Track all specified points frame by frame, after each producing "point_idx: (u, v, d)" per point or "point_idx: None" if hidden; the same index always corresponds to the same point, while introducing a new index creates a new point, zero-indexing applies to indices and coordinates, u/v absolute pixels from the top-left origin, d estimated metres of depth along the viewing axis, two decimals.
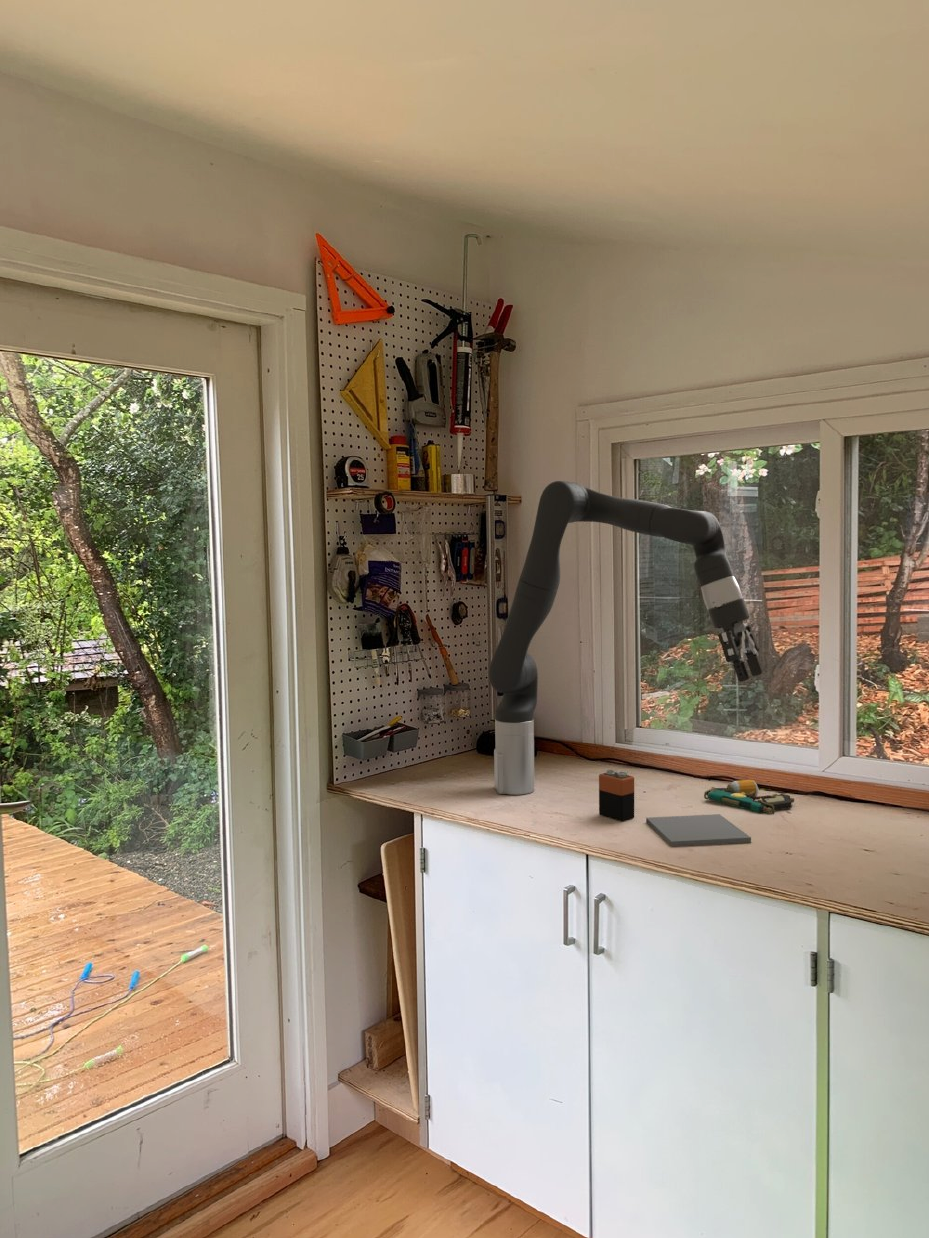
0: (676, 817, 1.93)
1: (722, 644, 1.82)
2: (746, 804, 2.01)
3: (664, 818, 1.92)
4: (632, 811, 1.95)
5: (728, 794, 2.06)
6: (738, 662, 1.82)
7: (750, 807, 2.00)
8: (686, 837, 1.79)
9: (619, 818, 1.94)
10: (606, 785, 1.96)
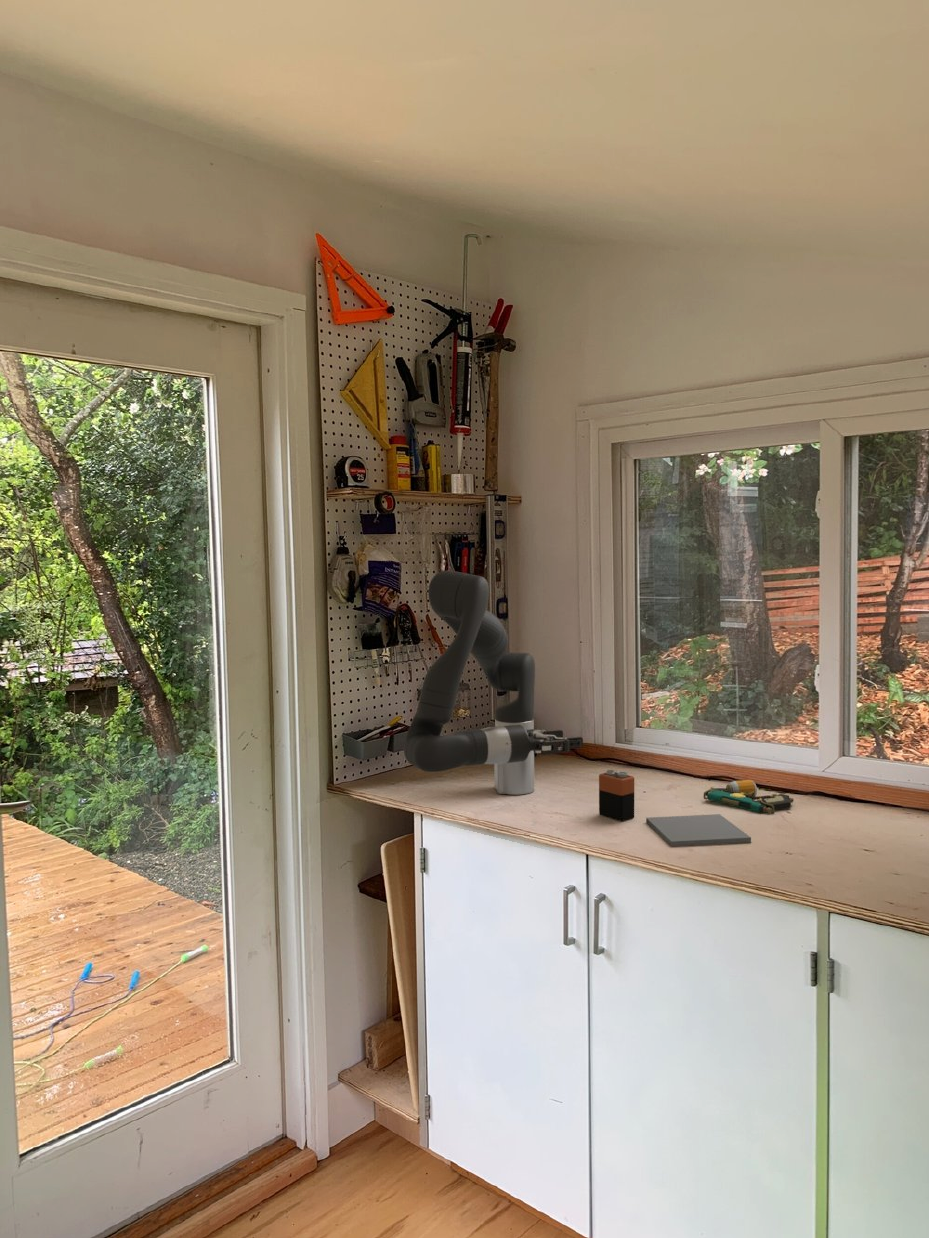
0: (676, 817, 1.93)
1: None
2: (746, 804, 2.01)
3: (664, 818, 1.92)
4: (632, 811, 1.95)
5: (727, 794, 2.05)
6: None
7: (750, 807, 1.99)
8: (686, 837, 1.79)
9: (619, 818, 1.94)
10: (606, 785, 1.96)
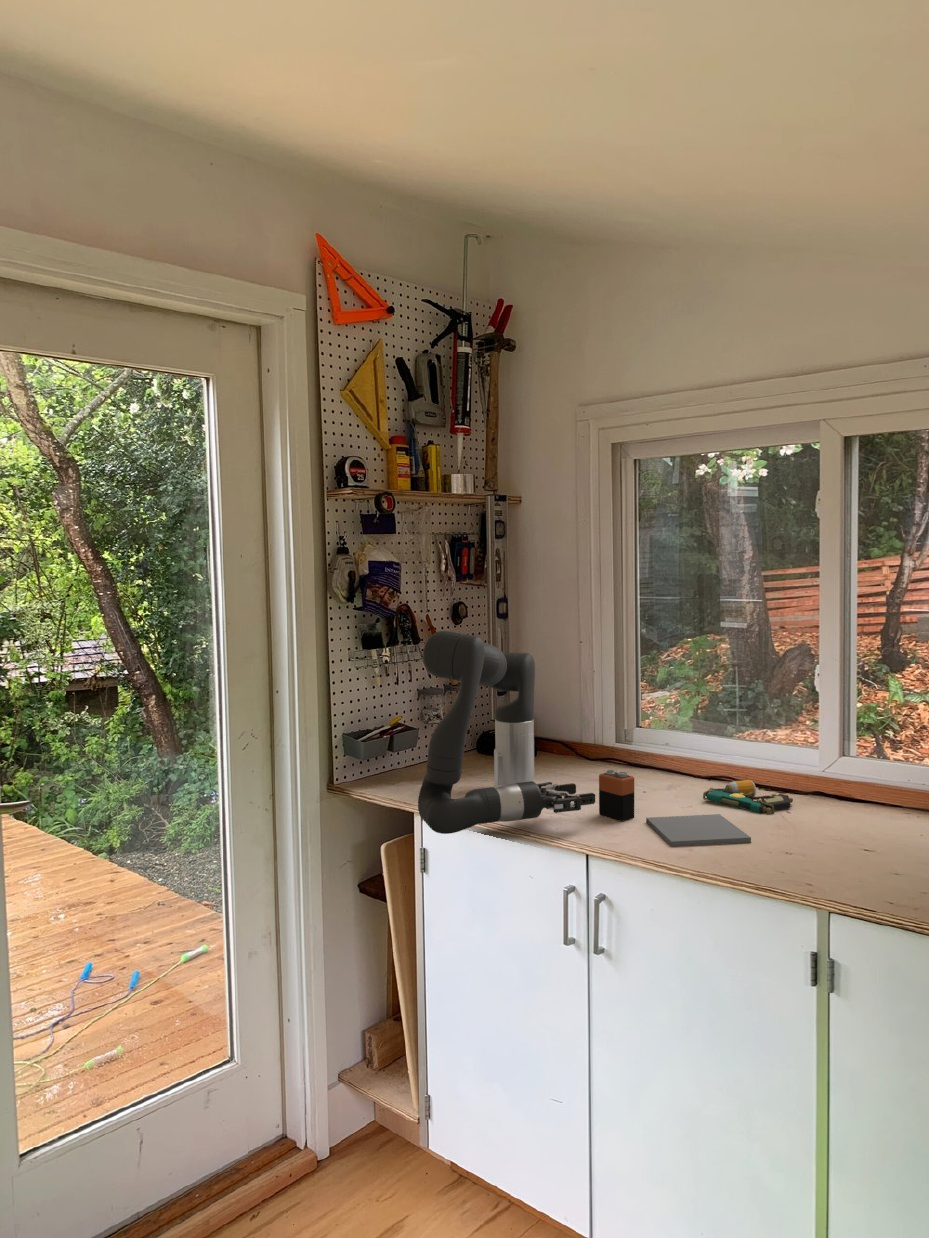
0: (676, 817, 1.93)
1: None
2: (746, 804, 2.01)
3: (664, 818, 1.92)
4: (632, 811, 1.95)
5: (727, 794, 2.05)
6: None
7: (750, 807, 1.99)
8: (686, 837, 1.79)
9: (619, 818, 1.94)
10: (606, 785, 1.96)
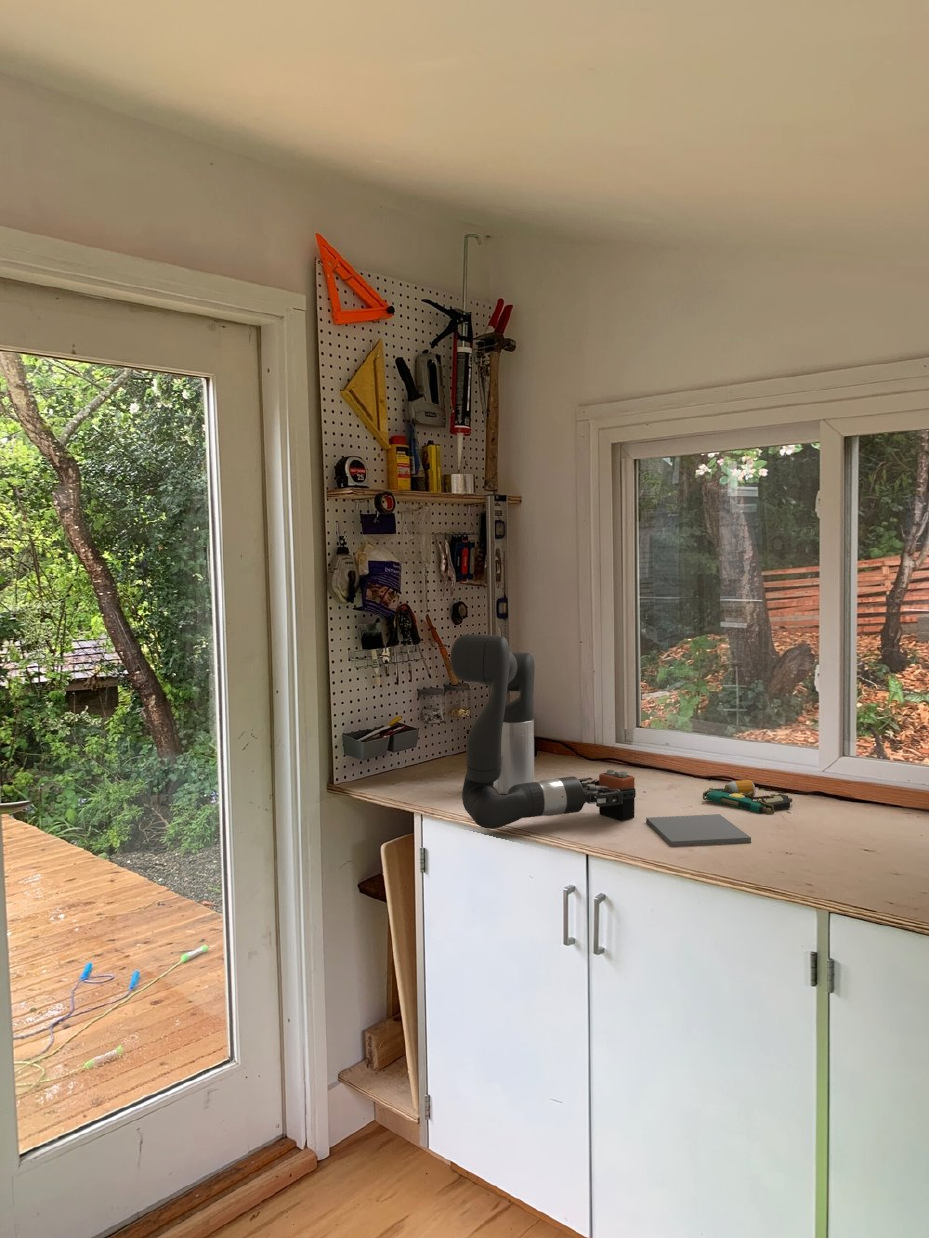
0: (676, 817, 1.93)
1: None
2: (745, 804, 2.01)
3: (664, 818, 1.92)
4: (632, 811, 1.95)
5: (727, 795, 2.05)
6: None
7: (750, 807, 1.99)
8: (686, 837, 1.79)
9: (619, 818, 1.94)
10: (606, 784, 1.96)
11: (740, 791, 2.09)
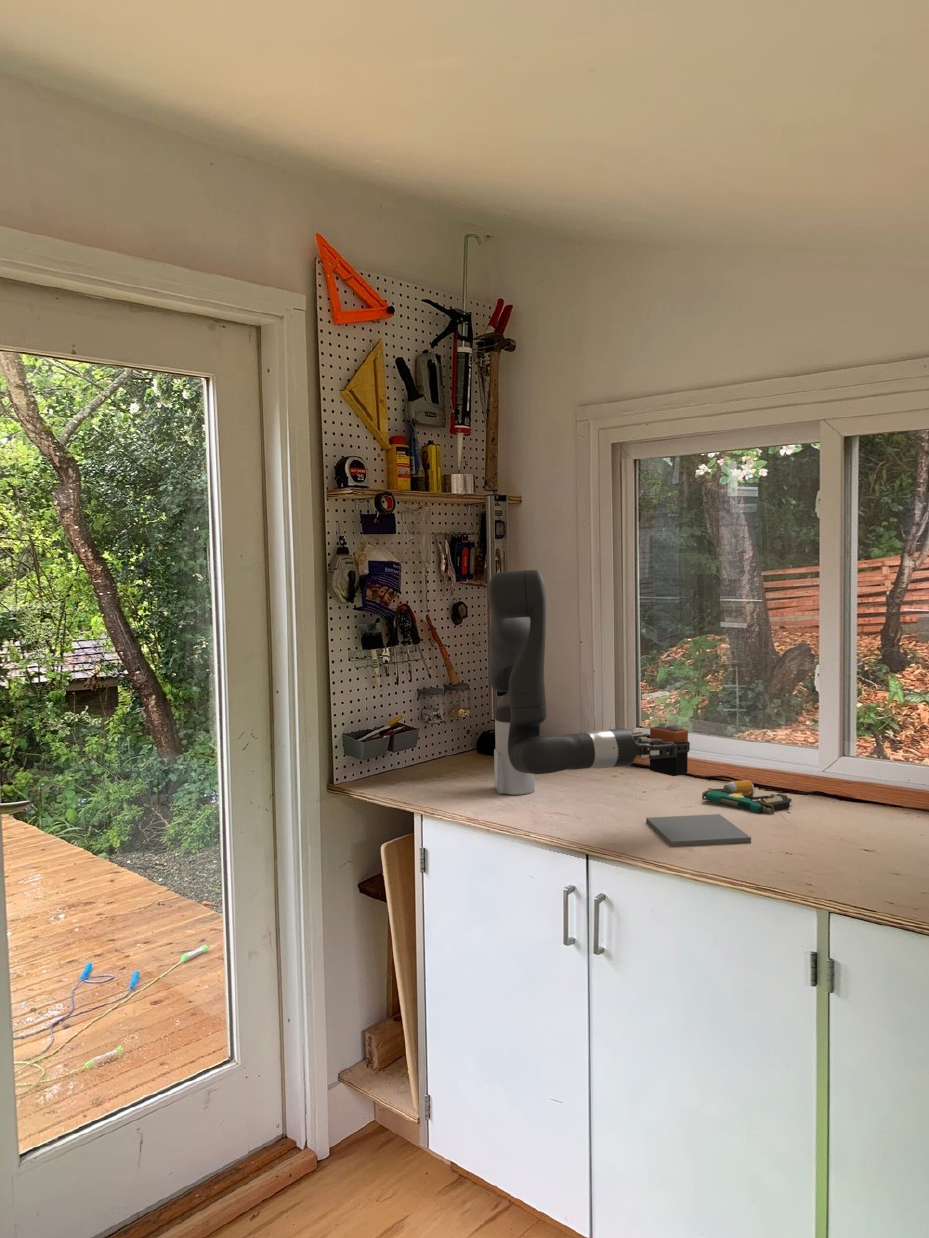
0: (676, 817, 1.93)
1: None
2: (745, 804, 2.01)
3: (664, 818, 1.92)
4: (685, 766, 1.86)
5: (726, 795, 2.05)
6: None
7: (750, 807, 1.99)
8: (686, 837, 1.79)
9: (672, 773, 1.84)
10: (657, 738, 1.87)
11: (739, 791, 2.09)
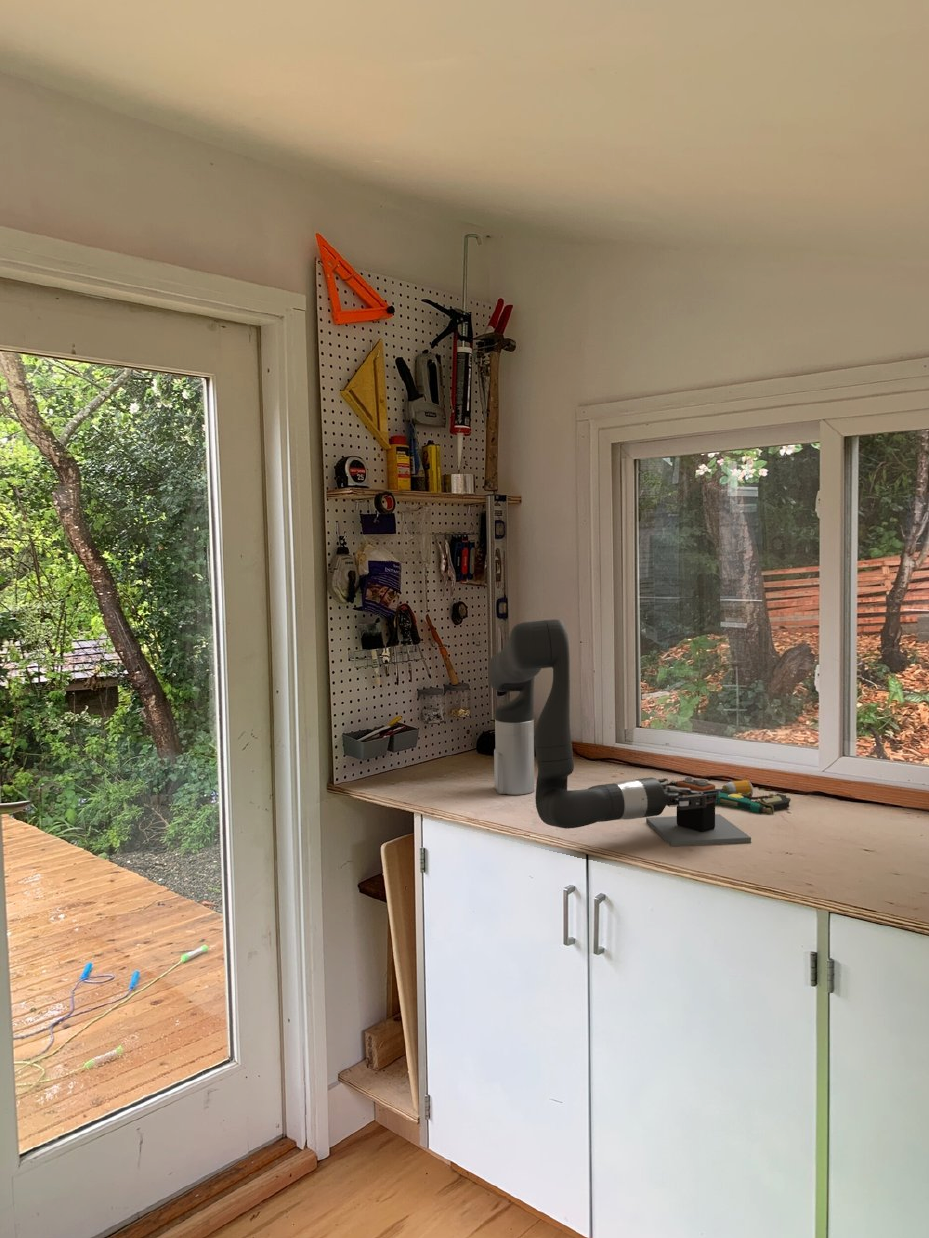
0: (676, 817, 1.93)
1: None
2: (745, 805, 2.00)
3: (664, 818, 1.92)
4: (713, 821, 1.84)
5: (725, 795, 2.05)
6: None
7: (749, 808, 1.99)
8: (686, 837, 1.79)
9: (699, 829, 1.82)
10: (684, 793, 1.85)
11: (738, 791, 2.09)
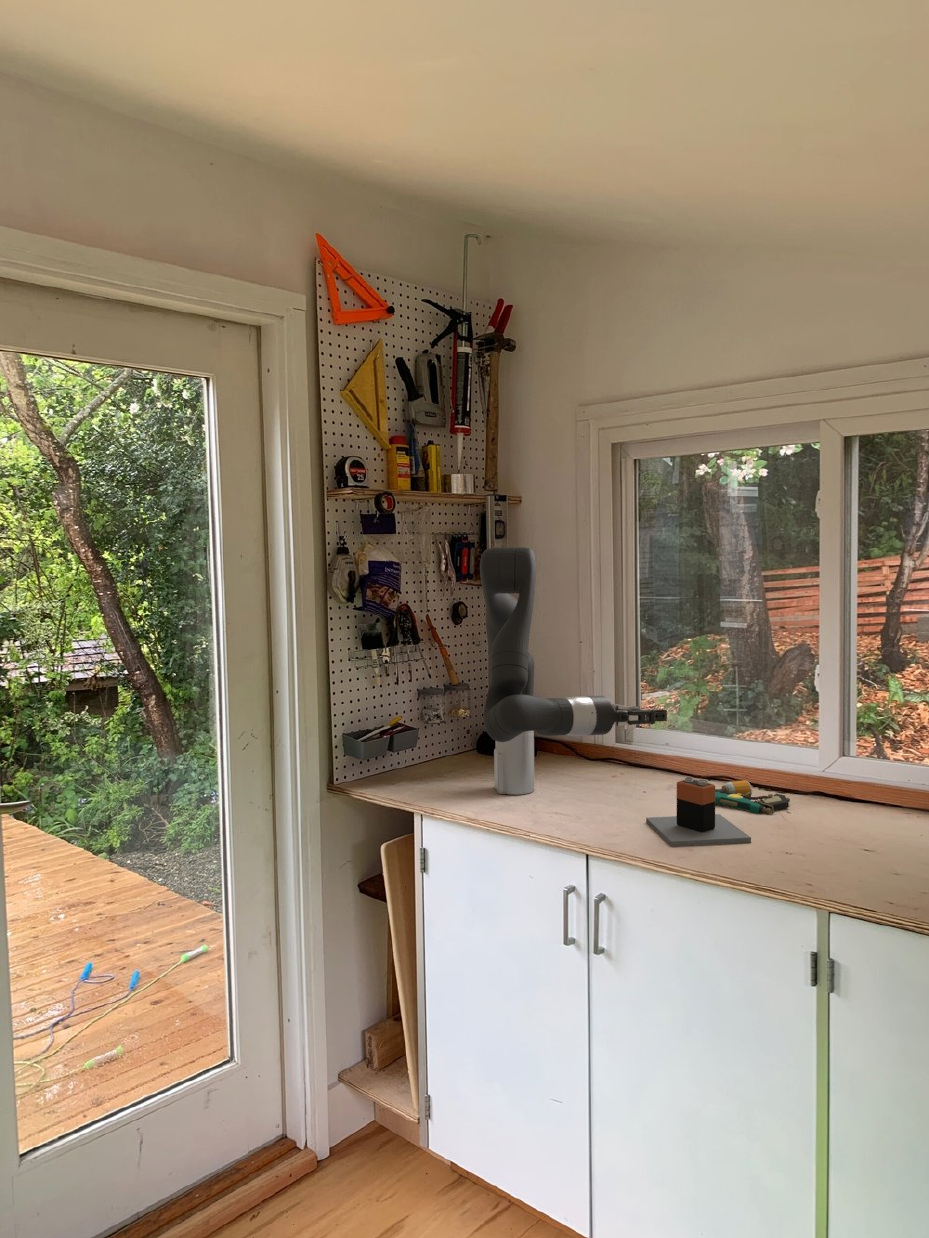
0: (676, 817, 1.93)
1: None
2: (745, 805, 2.00)
3: (664, 818, 1.92)
4: (713, 821, 1.84)
5: (725, 795, 2.05)
6: None
7: (749, 808, 1.99)
8: (686, 837, 1.79)
9: (699, 829, 1.82)
10: (684, 793, 1.85)
11: (737, 791, 2.09)
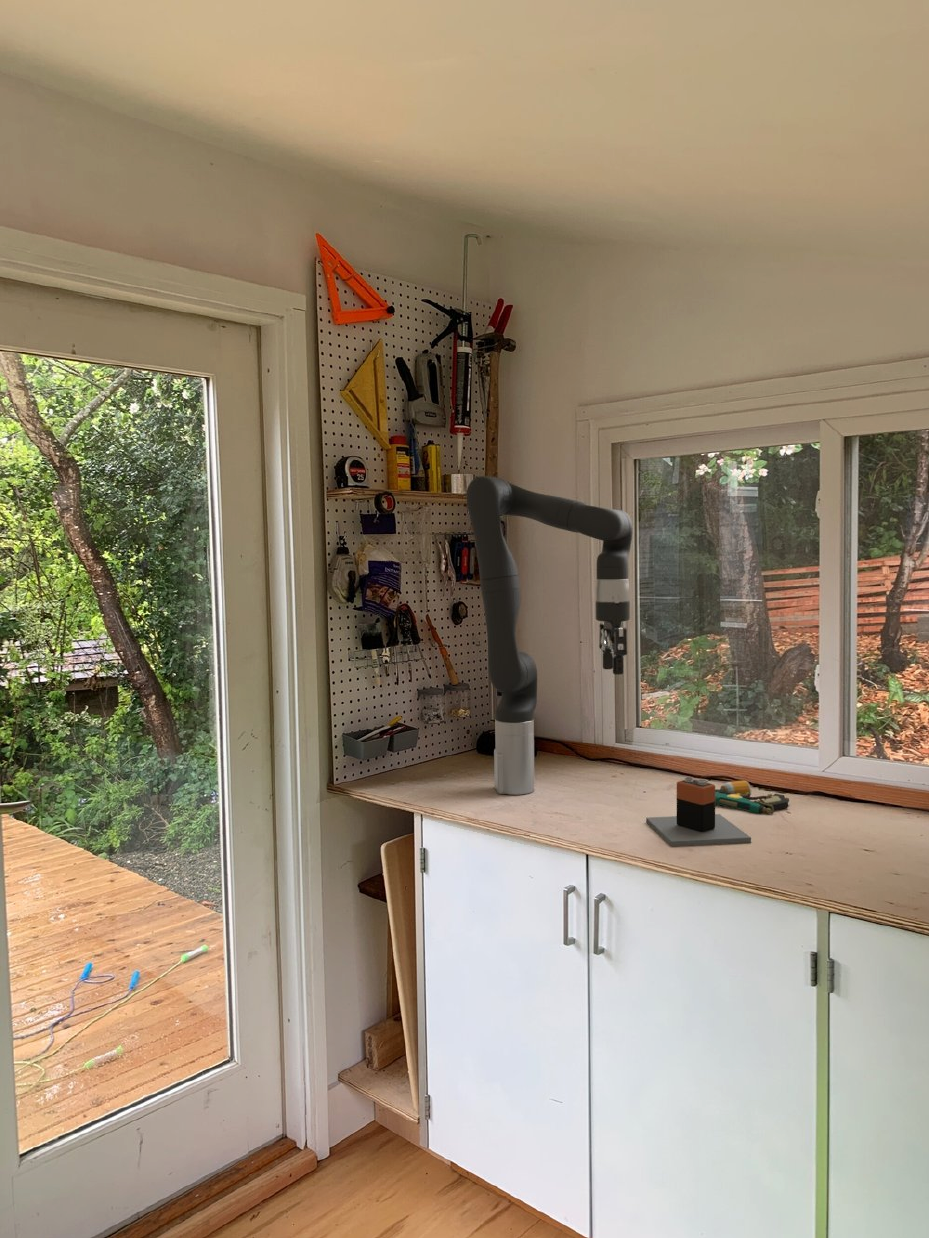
0: (676, 817, 1.93)
1: (617, 638, 1.98)
2: (744, 805, 2.00)
3: (664, 818, 1.92)
4: (713, 821, 1.84)
5: (725, 795, 2.04)
6: (621, 657, 2.00)
7: (749, 808, 1.99)
8: (686, 837, 1.79)
9: (699, 829, 1.82)
10: (684, 793, 1.85)
11: (736, 792, 2.08)
